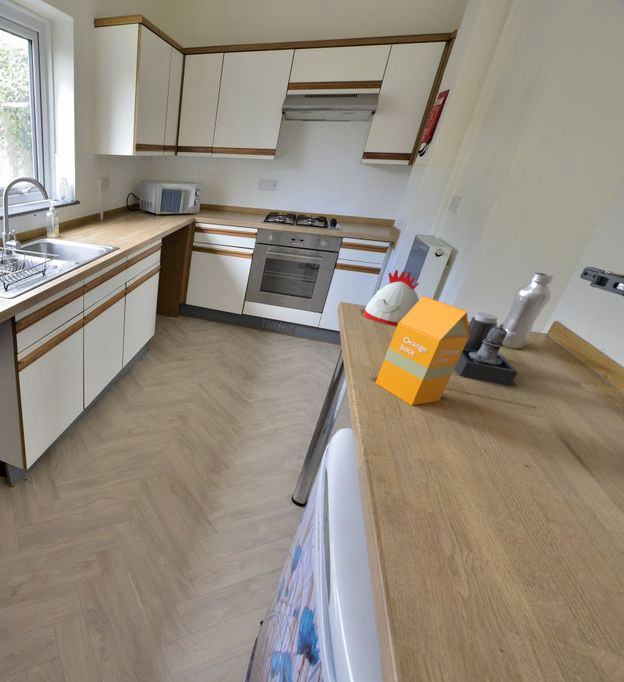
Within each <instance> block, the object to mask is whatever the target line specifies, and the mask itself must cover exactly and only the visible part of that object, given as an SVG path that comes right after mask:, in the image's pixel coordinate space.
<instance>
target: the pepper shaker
mask: <svg viewBox="0 0 624 682" xmlns="http://www.w3.org/2000/svg"><path fill="white" fill-rule="evenodd" d="M498 319H499V318H498V316H496V315H493V314H491V313H486V312H476V314H475V316H472V317H471V319H470V322H468V330H469V338H468V340H467V343H466V345H465V347H464V348H466V349H471V350H477V351H479V349H480V348H481V346H482V344H483V341H482V340H483V339H486V337H487V335H488V333H489V331H490V329H491V328H493V327H498V324H499V323H498V322H497V321H498Z"/></svg>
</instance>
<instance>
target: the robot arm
mask: <svg viewBox="0 0 624 682" xmlns="http://www.w3.org/2000/svg"><path fill="white" fill-rule="evenodd" d="M579 278H580V279H581V280H584V281H585V280H586V281H589V282H591V283H590V284H589V286H590V287H592V288H594V289H595V288H596V289H600V290H603V291H605V292H609V293H612V294H616V295H618V296H622V297H624V273H620V272H619V273H618V272H613V271H611V270H605V269H601V268H597V267H594V266H586V267H585V268H583V270H582V272H581V274H580V276H579Z"/></svg>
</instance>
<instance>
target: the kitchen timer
mask: <svg viewBox="0 0 624 682" xmlns="http://www.w3.org/2000/svg"><path fill="white" fill-rule="evenodd" d="M405 273H406V271H405V270H403V271H401V273H400V275H399V270H398V269H396V270H395V271H394V273H393V275H392V272H389V273H388V281H389V283H388V284H386V285H384V286H383V287H381V288H380V289H378V290H376V292H375V293H374V295H373V296H372V298H371V299H370V301H368V303H367V304H366V305H365V308H364V311H363V316H364V318H366V319H367V320H370V319H371V320H373V321H376V322H378V323H382V324H385V325H388V326H394V327H397V325H398V322H400V321H401V320H402V319H403V318H404V317H405V315H406V314H407V313H408V312H409V311H410V310H411V309H412V308H413V307H414V306H415V305H416V303H417V302H418V301H419V300H420V299H419V295H418V293H417V291H416V290H415V288H416V287H418V286H419V284H420V282H417V283H415V284H414V285H413V283H414V281H415V279H416V277H411V271H409V272H407V274H406V275H405ZM410 277H411V279H410Z"/></svg>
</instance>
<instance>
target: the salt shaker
mask: <svg viewBox="0 0 624 682" xmlns="http://www.w3.org/2000/svg"><path fill="white" fill-rule="evenodd" d="M502 326H503V323H501V324H499V326H496V327H493V328H491V329H490V331H489V333H488V335H487V337H486V339H483V340H482V341H483V344H482V346H481V348H480V349H479V351H478V352H470V353H469V355H470V357H469V361H470V362H474V363H479V364H484V365H490V366H495V367H497V366H498V365H499V364H501V363H502V361H501V360H500V359H498V358H497V353H498V351H499V352H500V349H501V347H504V346H503V344H502V342H503V340H504V338H505V336H506V334H507V331H506V330H505V329H503V328H502Z"/></svg>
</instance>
